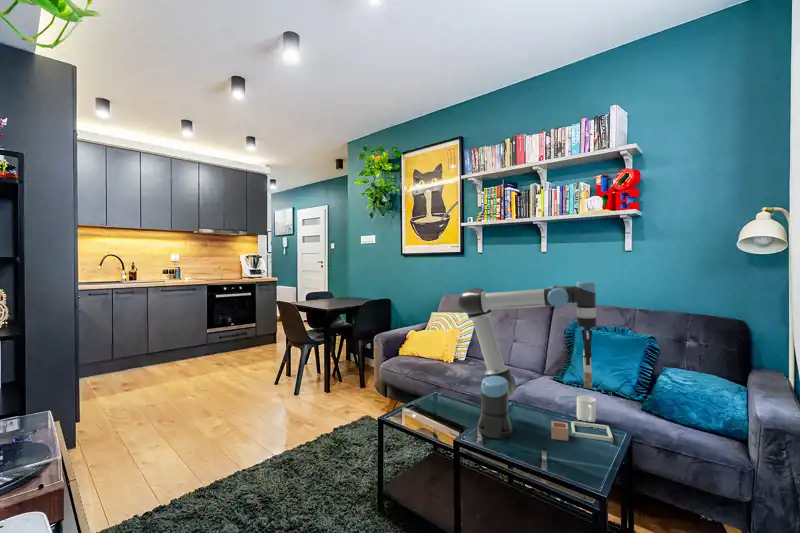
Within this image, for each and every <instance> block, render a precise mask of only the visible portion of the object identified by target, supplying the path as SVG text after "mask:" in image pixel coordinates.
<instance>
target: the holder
mask: <svg viewBox="0 0 800 533" xmlns="http://www.w3.org/2000/svg"><path fill="white" fill-rule="evenodd" d="M550 425H551V429H550V433H551V440H556V441H557V440H558V441H566V442H568V441H569V424H568V423H567V422H563V421H554V420H551V421H550Z"/></svg>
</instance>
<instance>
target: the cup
mask: <svg viewBox="0 0 800 533" xmlns="http://www.w3.org/2000/svg"><path fill="white" fill-rule="evenodd" d="M596 400H597V399H596V398H594V397H592V396H588V395H578V396H576V419H577V420H578V421H579V420H582V421H588V422H593V423H595V422H596V420H597V419H596V418H597V417H596V416H597V413H596V412H597V402H596ZM582 421H581V422H582Z"/></svg>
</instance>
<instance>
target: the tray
mask: <svg viewBox="0 0 800 533" xmlns="http://www.w3.org/2000/svg"><path fill="white" fill-rule="evenodd" d="M570 426H571V433H572V437H576V438H583V439H589V440H595V441H596V440H597V441H604V442H610V443H611V444H612V445H614V437H613V435H612V431H611V429H610V426H609V425H606V424H597V423H586V422H582V421H575V420H574V421H573V420H571V421H570ZM575 427H583V428H589V427H593V428H592V429H597V428H599V429H598V430H605V429H606V430H605V431H606V433H607V436H606V435H600V434H592V433H586V432H585V433H584V432H577V431H576V428H575Z"/></svg>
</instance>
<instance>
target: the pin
mask: <svg viewBox="0 0 800 533" xmlns="http://www.w3.org/2000/svg"><path fill="white" fill-rule="evenodd" d="M582 352H583V354H582V358H583V360H582V361H583V364H584V357H583V356H584V355H585V353H584V349H583V351H582ZM592 364H593V362H592V357H591V371H592V373H588V372H584V371H583V388H585V389H593V370H592V369H593V368H592V366H593V365H592Z"/></svg>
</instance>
